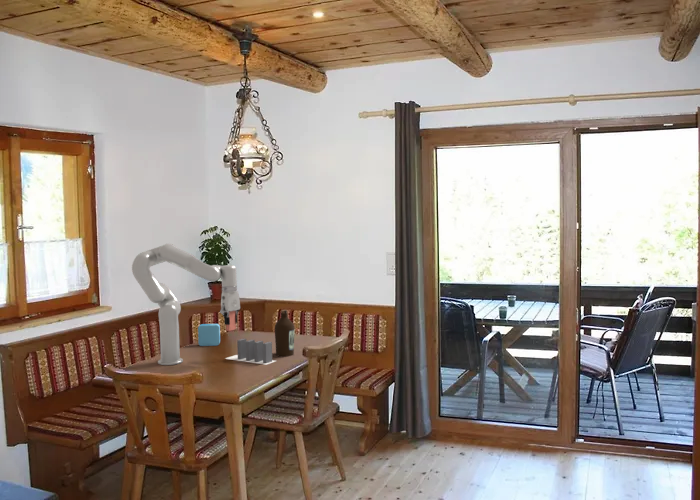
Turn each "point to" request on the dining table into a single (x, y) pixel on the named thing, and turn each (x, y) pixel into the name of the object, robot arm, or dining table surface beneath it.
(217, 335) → the light blue square slab
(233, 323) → the red domino
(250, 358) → the domino
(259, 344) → the domino
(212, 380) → the dining table surface
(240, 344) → the domino
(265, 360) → the domino
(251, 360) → the board
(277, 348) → the olive oil
